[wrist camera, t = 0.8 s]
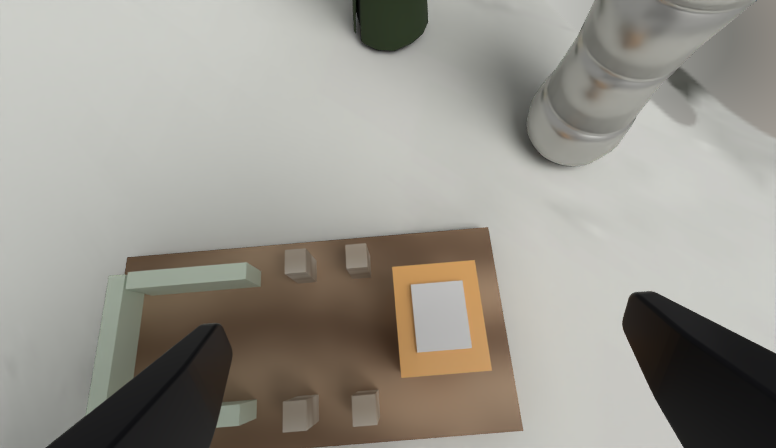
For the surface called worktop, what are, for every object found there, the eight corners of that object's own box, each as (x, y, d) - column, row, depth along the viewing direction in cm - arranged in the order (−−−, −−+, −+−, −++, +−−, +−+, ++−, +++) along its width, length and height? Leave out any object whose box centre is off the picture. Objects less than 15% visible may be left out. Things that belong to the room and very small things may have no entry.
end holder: (256, 418, 22) (239, 425, 20) (109, 430, 22) (74, 439, 20) (261, 271, 25) (246, 262, 22) (130, 282, 25) (102, 274, 22)
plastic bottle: (507, 159, 28) (721, -241, 9) (532, 88, 30) (752, -360, 11) (595, 189, 27) (1035, -192, 8) (615, 114, 29) (1008, -331, 10)
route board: (517, 426, 22) (541, 442, 18) (110, 459, 23) (48, 481, 19) (484, 232, 26) (499, 210, 22) (138, 261, 27) (92, 244, 23)
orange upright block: (469, 367, 22) (494, 370, 16) (401, 372, 22) (401, 378, 16) (457, 282, 24) (476, 258, 18) (394, 288, 24) (392, 264, 18)
